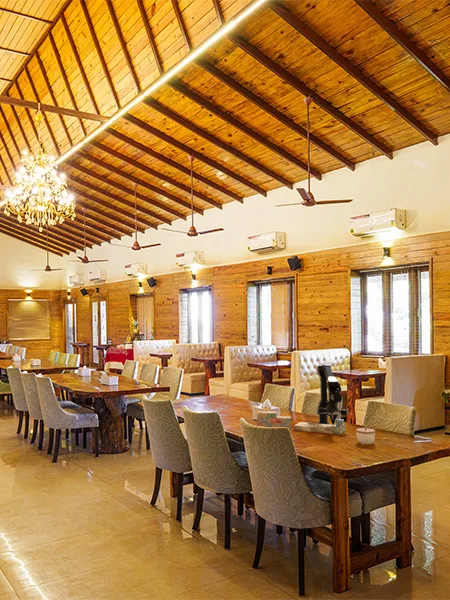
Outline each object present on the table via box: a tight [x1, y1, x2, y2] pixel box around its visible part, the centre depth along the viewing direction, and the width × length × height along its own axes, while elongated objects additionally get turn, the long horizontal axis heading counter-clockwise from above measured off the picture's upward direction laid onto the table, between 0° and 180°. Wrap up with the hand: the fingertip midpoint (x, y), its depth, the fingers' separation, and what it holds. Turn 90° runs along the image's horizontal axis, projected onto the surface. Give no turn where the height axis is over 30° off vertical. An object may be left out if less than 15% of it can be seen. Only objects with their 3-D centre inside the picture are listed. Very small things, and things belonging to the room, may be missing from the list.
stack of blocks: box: [256, 410, 292, 432], centre depth 354 cm, size 21×6×12 cm, turn 84°
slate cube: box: [335, 418, 345, 427], centre depth 357 cm, size 4×4×4 cm
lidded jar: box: [355, 426, 376, 446], centre depth 321 cm, size 11×11×9 cm
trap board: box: [293, 421, 346, 435], centre depth 358 cm, size 13×30×4 cm, turn 65°
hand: (333, 424), depth 357 cm, fingers closed
